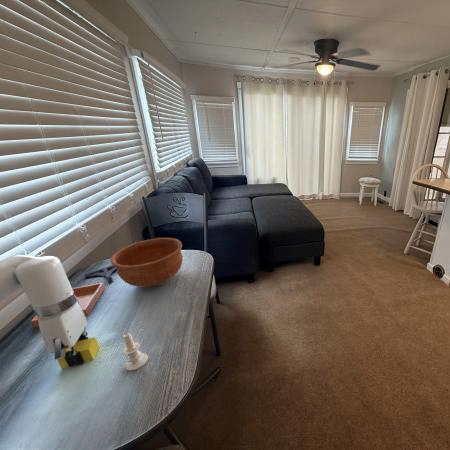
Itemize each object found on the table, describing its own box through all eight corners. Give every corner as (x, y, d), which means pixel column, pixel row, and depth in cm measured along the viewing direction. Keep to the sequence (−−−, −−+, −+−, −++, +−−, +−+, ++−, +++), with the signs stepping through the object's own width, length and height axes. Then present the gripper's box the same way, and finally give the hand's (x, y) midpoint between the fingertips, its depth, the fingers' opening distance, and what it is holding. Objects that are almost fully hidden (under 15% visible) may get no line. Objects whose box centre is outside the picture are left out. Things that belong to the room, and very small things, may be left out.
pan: (34, 328, 77) (30, 321, 76) (61, 297, 92) (58, 290, 91) (88, 316, 82) (85, 309, 81) (105, 288, 97) (103, 282, 96)
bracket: (89, 291, 96) (87, 285, 95) (85, 276, 106) (83, 271, 105) (131, 276, 105) (129, 271, 104) (123, 264, 115) (122, 259, 114)
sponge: (61, 368, 64) (55, 357, 62) (69, 355, 68) (64, 344, 66) (93, 359, 66) (88, 348, 65) (99, 347, 70) (95, 336, 69)
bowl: (185, 261, 117) (179, 233, 112) (192, 287, 97) (184, 254, 91) (124, 276, 106) (114, 245, 100) (117, 309, 85) (104, 273, 80)
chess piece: (130, 356, 67) (119, 327, 63) (150, 352, 68) (141, 324, 64) (121, 373, 62) (109, 343, 58) (143, 369, 63) (133, 339, 59)
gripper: (54, 288, 66) (78, 338, 73) (13, 332, 52) (47, 389, 58) (88, 282, 69) (107, 331, 75) (57, 322, 54) (85, 378, 61)
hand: (81, 356), depth 67 cm, fingers closed on sponge, 4 cm apart
